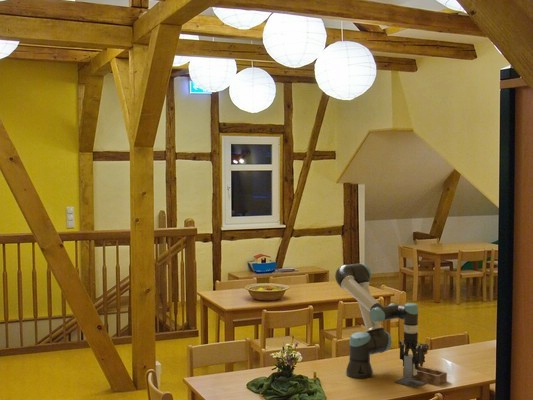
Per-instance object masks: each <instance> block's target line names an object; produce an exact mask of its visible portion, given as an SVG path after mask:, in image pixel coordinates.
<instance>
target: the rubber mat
mask: <svg viewBox="0 0 533 400" xmlns="http://www.w3.org/2000/svg"><path fill="white" fill-rule="evenodd" d="M393 382H394V383H396V384H400V385H402V386H403V385H404V386H407V387H410V388H413V389H414V388H415V389H417V388H419V387H422V386H425V385H427V382H424V381H420V380H416V379H410V378H406V377H404V376H403V377H401V378H399V379H397V380H394V381H393Z"/></svg>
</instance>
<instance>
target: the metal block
mask: <svg viewBox="0 0 533 400" xmlns="http://www.w3.org/2000/svg"><path fill="white" fill-rule="evenodd" d="M413 363H414V358H413V353H408V354H407V355H404V367H403V368H404V376H403V377H406V378H410V379H413V378H415V377H417V375H415V376H414V375H413ZM413 380H414V379H413Z"/></svg>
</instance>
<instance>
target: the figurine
mask: <svg viewBox="0 0 533 400" xmlns="http://www.w3.org/2000/svg"><path fill="white" fill-rule="evenodd" d="M418 344H420V345H423V347H422V362H421V363H418V366H421V367H424V363H425V362H426V360H425V358H426V356H425V355H427V354H428V350H429V349H430V345H428V344H427V343H421V342H418ZM416 349H418V348H417V347H416ZM416 351H417V350H416Z"/></svg>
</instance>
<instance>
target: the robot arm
mask: <svg viewBox="0 0 533 400" xmlns="http://www.w3.org/2000/svg"><path fill="white" fill-rule="evenodd" d="M334 278H335V281H336V283H337V284H338V286H339V287H340V288H341V289H342V290H346V291H347V293H349V295H351V297H353V298H354V299H355V300H356V301H357V304H358V306H359V309H360V312H361V314H360V315H361V316H362V320H363V324H364V327H365V330H364V331H361V332H360V331H358V332H354V333H352V334H350V336H349V359H348V360H349V361H348V364H347V367H346V371H345V374H346V376H348V377H350V378H354V379H369V378H371V377H373V376H374V371H373V368H372V365H371V355H375V354H383V353H385V352H387V351H389V350H390V349H391V346H392V343H393V341H392V336H391V334H390V333H389V332H388V331H386V330H385V328H384V326H383V325H381V324H380V322H384V321H385V322H386V321H389V320H395V319H399V320H403V331H404V332H403V338H404V339H403V340H401V341H399V342H398V344H399V359H400V360H402V367H403V368H404V355H407V354H409V352H410V350H411V354H413V358H414V363H413V375H414V376H415V375H417V369H418V363H421V362H422V347H423V345H420V344H421V343H420V344H419V342H418V341H419V340H418V339H419V334H418V332H419V306H418V304H416V303H414V302H413V303H412V302H410V303H409V302H407V303H405V304H404V305H401V304H398V303H389V304H388V305H386V306H384V305H382V304H381V303H380V302H379V301H378V300H377V299H375V297H374V296H372V294H371V291H370V287H369V285H370V284H371V282H370V281H371V279H372V271H371V269H370V267H369V266H368V264H365V263H358V262H357V263H350V264H343V265H340V266H339V267H338V268H337V269H336V271H335V275H334ZM416 348H418V349H416ZM416 350H417V351H416Z"/></svg>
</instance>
